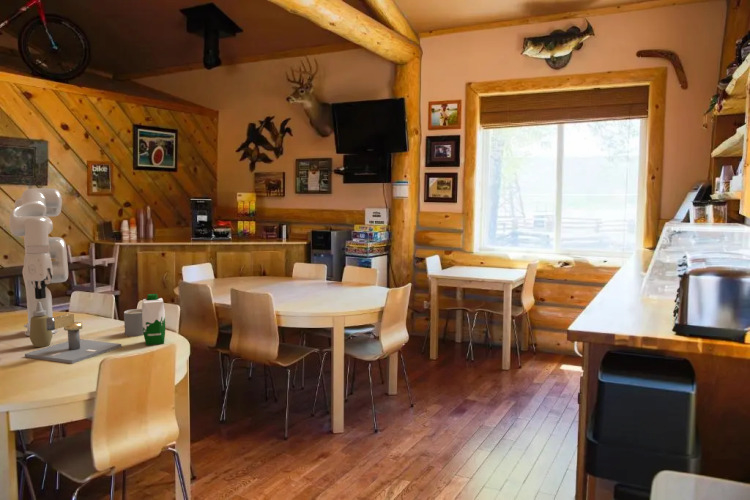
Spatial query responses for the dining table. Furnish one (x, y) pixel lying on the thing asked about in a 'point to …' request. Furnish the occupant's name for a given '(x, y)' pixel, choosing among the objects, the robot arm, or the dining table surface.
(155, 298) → the milk carton
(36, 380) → the dining table surface
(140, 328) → the coffee mug
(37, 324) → the squeeze bottle
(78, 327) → the tan piece
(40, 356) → the post base
